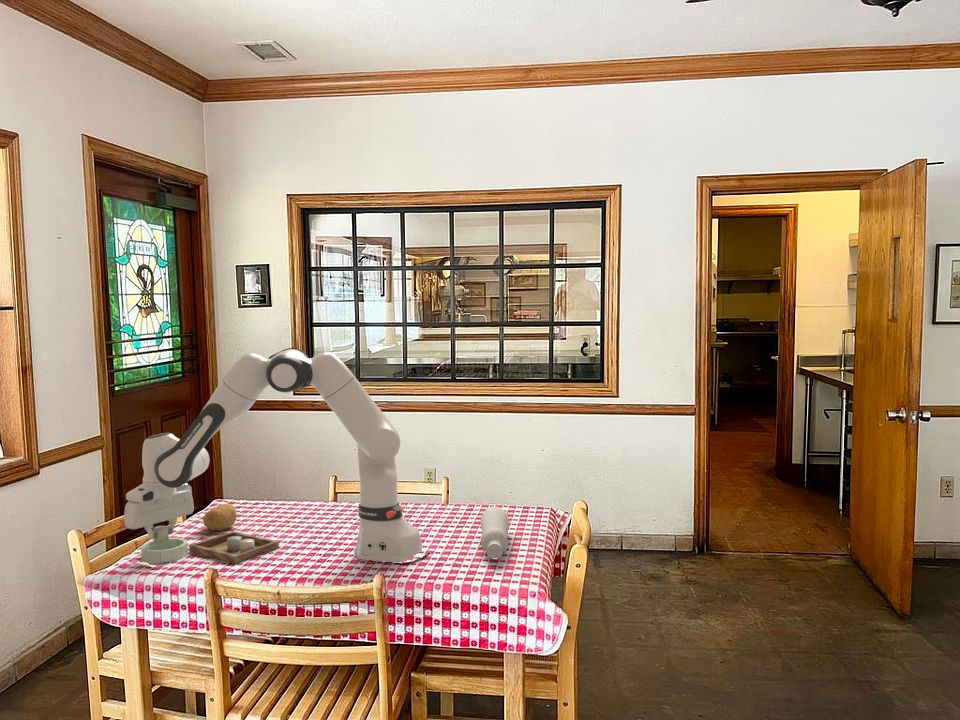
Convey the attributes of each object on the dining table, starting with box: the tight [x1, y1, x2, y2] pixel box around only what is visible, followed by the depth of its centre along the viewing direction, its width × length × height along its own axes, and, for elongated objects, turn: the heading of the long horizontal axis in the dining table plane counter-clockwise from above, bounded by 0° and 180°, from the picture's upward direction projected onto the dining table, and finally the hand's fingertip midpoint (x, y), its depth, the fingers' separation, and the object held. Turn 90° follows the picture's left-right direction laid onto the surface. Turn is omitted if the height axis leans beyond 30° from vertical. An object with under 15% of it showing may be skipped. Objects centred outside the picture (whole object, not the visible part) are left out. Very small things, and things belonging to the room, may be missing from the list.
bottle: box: [480, 506, 510, 559], centre depth 213 cm, size 9×9×30 cm
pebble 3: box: [240, 539, 254, 553], centre depth 206 cm, size 4×4×4 cm
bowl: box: [140, 537, 189, 564], centre depth 204 cm, size 12×12×4 cm
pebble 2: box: [227, 536, 242, 552], centre depth 209 cm, size 4×4×4 cm
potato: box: [202, 503, 238, 532], centre depth 231 cm, size 10×14×8 cm
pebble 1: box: [152, 525, 170, 542], centre depth 204 cm, size 4×4×4 cm
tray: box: [188, 530, 280, 565], centre depth 209 cm, size 20×16×3 cm
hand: (161, 536), depth 204 cm, fingers closed on pebble 1, 4 cm apart
